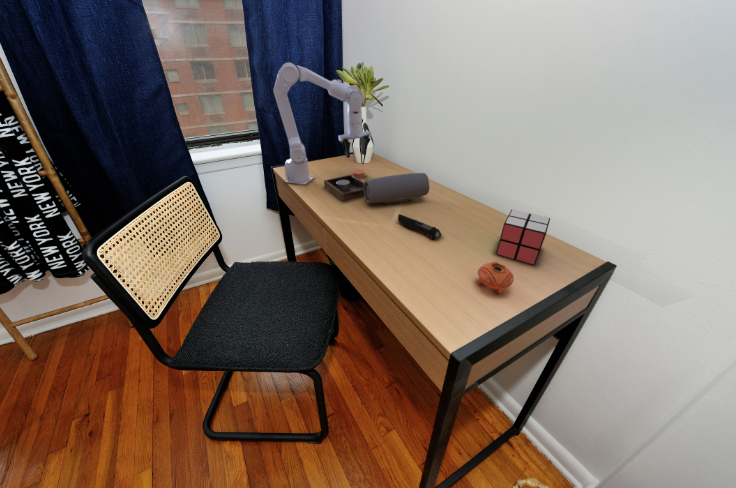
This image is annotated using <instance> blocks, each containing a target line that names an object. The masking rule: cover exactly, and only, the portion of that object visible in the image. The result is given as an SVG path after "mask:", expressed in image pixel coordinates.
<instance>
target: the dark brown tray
mask: <svg viewBox="0 0 736 488" xmlns="http://www.w3.org/2000/svg"><path fill="white" fill-rule="evenodd" d="M339 180H348V181H350V189H348V190H339V189H337V185H336V182H337V181H339ZM364 182H365V181H363V180H361V179H360V178H356V177H354V176H353V175H352V174H347V175H341V176H338V177H333V178H327V179H324V180H323V186H324V187H323V188H324V189H326V190H327V191H329V193H331V194H332V195H333V196H335V197H336V198H338V200H340V201H342V203H344V202H349V201H352V200H356V199H360V198H365V197H364V190H363V187H364Z"/></svg>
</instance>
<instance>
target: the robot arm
mask: <svg viewBox="0 0 736 488" xmlns="http://www.w3.org/2000/svg"><path fill="white" fill-rule="evenodd" d="M298 81H299V82H310V83H312V84H314V85H316V86H319V87H321V88H323V89H326V90H327V92H328V95H329V96H331V97H333V98H334V99H335V98H336V99H338V100H339V101H341V102H343V103H347V110H346V111H347V133H343V134H340V135H338V141H339V143H340V144H341V146H342V148H343V151H344V153H345V154H344V155H345V157H346V158H347V159H350V157H351V151H350V150H351V142H350V141H349V140H355V139H356V140H357V139H359V141H360V153H361V155H363V156H365V155H366V152H367V148H368V145H369V143H370V142H371V137H372V131H369V130H367V131H363V120H362V119H363V115H362V114H363V111H362V104H363V103H364V98H363V94H362V93H361V92H360V91H358V90H357V89H356V88H354V87H353V86H351V85H347V84H345V83H342V80H341V79H332V80H329V79H327V78H325V77H323V76H321V75H319V74H317V73H316V72H314V71H312V70H310V69H308V68H306V67H304V66H301V65H299V64H298V65H297V64H295V63H292V62H289V61H287V62H285V63H283V64H282V66H281V67H280V68H279V70H278V72H277V75H276V79H275V83H274V86H273V90H272V91H273V95H274V98H275V102H276V104H277V105H276V106H277V109H278V111H279V115H280V117H281V121H282V124H283V127H284V128H283V129H284V130H285V131H284V132H285V134H286V137H287V141H288V145H289V157H290V158H289V159H286V161H285V163H284V172H285V179H286V180H285V183H289V184H296V185H306V184H308V183H309V182H310V181H312V180H313V179H314V177H313V176H310V170H309V169H310V168H309V160H308V157H307V152H306V146H305V145H304V143H303V142H302V141H301V138H300V135H299V131H298V128H297V124H296V120H295V118H294V113H293V111H292V107H291V103H290V100H289V97H288V93H289V91H290V89H291V87H293V86H294V84H296V83H297V82H298Z"/></svg>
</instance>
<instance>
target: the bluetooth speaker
mask: <svg viewBox="0 0 736 488" xmlns="http://www.w3.org/2000/svg"><path fill="white" fill-rule="evenodd" d="M363 182H364V187H363V190H364V197H363V198H364V200H365V201H366V203H367V204H379V203H380V204H387V205H388V204H396V203H405V202H409V201H410V200H411V199H415V198H420V197H424V196H427V195H428V194H429V193H430V180H429V176H428V174H426V173H425V172H414V173H402V174H392V175H386V176H379V177H373V178H368V179H365V180H364V181H363Z"/></svg>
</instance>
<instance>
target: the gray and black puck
mask: <svg viewBox="0 0 736 488" xmlns="http://www.w3.org/2000/svg"><path fill="white" fill-rule="evenodd" d="M336 185H337V189H339V190H348V189H350V181H348V180H339V181H337V182H336Z"/></svg>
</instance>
